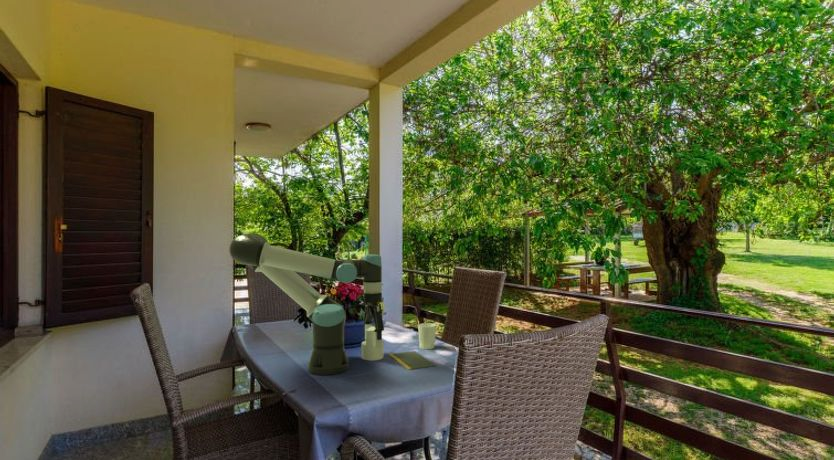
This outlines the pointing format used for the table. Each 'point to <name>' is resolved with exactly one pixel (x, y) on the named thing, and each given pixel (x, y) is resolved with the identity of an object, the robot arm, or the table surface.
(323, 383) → the table surface
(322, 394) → the table surface
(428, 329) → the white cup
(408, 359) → the mat
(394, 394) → the table surface
